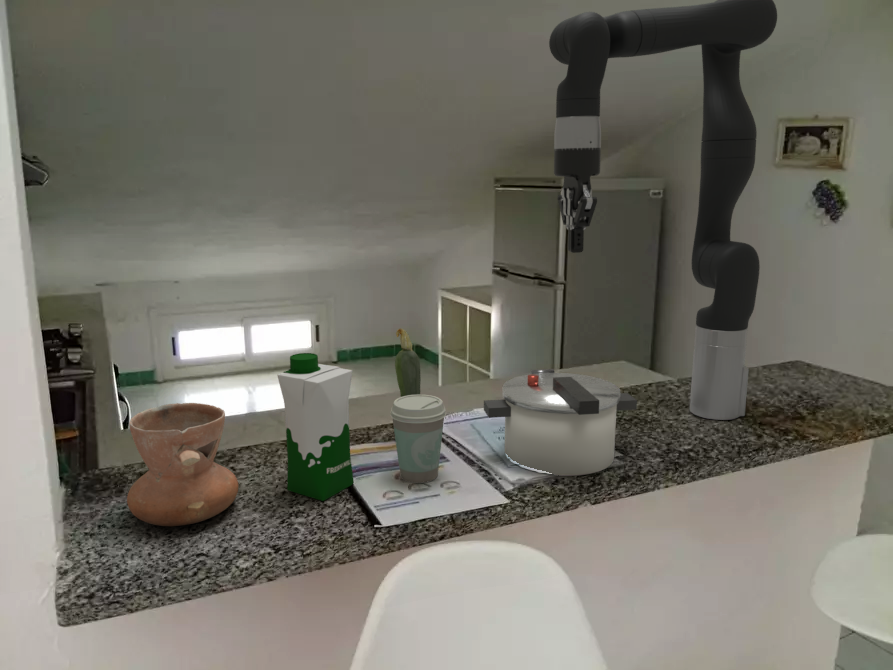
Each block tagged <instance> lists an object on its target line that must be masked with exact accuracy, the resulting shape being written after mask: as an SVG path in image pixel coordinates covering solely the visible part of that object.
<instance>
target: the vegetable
mask: <svg viewBox="0 0 893 670" xmlns="http://www.w3.org/2000/svg"><path fill="white" fill-rule="evenodd" d="M395 335H396V338H398V337H399V340H400V341H399V343H400V346H401V350H400V351H398V353H397V354H396V356H395V358H394V359H395V360H394V369H395V375H396V380H397V384H398V388H399V394H400V397H403V396H407V395H421V363H420V357H419V356H418V354H417V353H416V352H415V350H414V349H413V343H412V340H411V338H410V336H409V333H407V330H405V329H404V328H398V329H397V330H396V332H395Z"/></svg>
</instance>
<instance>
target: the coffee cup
mask: <svg viewBox="0 0 893 670" xmlns="http://www.w3.org/2000/svg"><path fill="white" fill-rule="evenodd" d="M389 415H390V417H391V419H392V425H393V431H394V433H393V434H394V440H395V445H396V447H395V448H396V455H397V460H398V467H399V475H400V478H401V479H402V480H403V481H405V482H408V483H413V484H415V483H416V484H421V483H422V484H424V483H428V482H432V481H434V480H435V479H437V478H438V476H439V466H440V458H441V448H442V440H443V439H442V437H443V429H444V421H445V417H446V416H447V411H446V407H445V405H444V401H443V400H442V399H441V398H440V397H438V396H435V395H430V394H420V395H407V396H403V397H401V396H400V397H398V398H396V399H395V400H394V401H393V404H392V406H391V408H390V413H389Z"/></svg>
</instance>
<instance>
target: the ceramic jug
mask: <svg viewBox="0 0 893 670" xmlns="http://www.w3.org/2000/svg"><path fill="white" fill-rule="evenodd" d="M225 420H226V412H225V410H224V409H222V408H221V407H217V406H214V405H210V404H207V403H206V404H205V403H201V402H200V403H199V402H182V403H178V402H176V403H169V404H163V405H159V406H155V407H150V408H146V409H145V410H143V411H142V410H141V411H139V412H138V413H136V414H135V415H133V417H131V418H130V419H129V423H128V424H129V425H128V426H129V429H130V433H131V438H132V439H133V442H134V445H135V447H136V449H137V451H138V453H139V455H140V458H141V459H142V460H143V462H144V464H145V465H146V467H147V468H148V471H146V472H145V473H144V474H143V475H141V476H140V477H139V478H138V479H137V480H135V481H134V483H133V484H132V486H131V487H130V488H129V490H128V493H127V498H126V503H127V504H126V505H127V506H128V509H129V511H130V513H132V515H133V516H134V517H135V518H137V519H138V520H140V521H142V522H145V523H146V524H149V525H154V526H159V527H179V526H180V527H181V526H187V525H192V524H193V525H194V524H197V523H200V522H204V521H206V520H208V519H211V518H213V517H215V516H217V515H219V514H221V513H222V512H224V511H225V510H226V509H227V508H229V507H230V506H231V505H232V504H233V503H234V501H235V500H236V498H237V495H238V492H239V480H238V478H237V476H236V475H235V473H233V472H232V471H231V470H230V469H228V468H227V467H225V466H222V465H220V464H218V463H216V462H215V461H214V460H215V457H216V456H217V455H216V454H217V452H218V449H219V446H220V442H221V438H222V436H223V433H224V428H225Z"/></svg>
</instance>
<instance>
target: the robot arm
mask: <svg viewBox="0 0 893 670" xmlns="http://www.w3.org/2000/svg"><path fill="white" fill-rule="evenodd" d="M777 22H778V9H777V7H776V4H775V1H774V0H715V1H713V2H706V3H701V4H694V5H683V6H671V7H656V8H644V9H633V10H626V11H625V10H624V11H620V12H616V13H614V14H611V15H607V16H602V15H601V14H600V13H598V12H595V11H584V12H582V13H578V14H577V15H575V16H572V17H569V18H567V19H566V18H565V20H562V21H560V22H559V23H558V24H557V25H556V26H555V27H554V28H553V30H552V32H551V34H550V36H549V42H548V44H549V51H550V53H551V55H552V56H553V58H554V59H555V60H557V61H558V62H559V63H561V64H564V65H567V71H566V76H565V78H564V79H563V80H561V82H560V83H559V84H558V85H557V88H556V96H555V97H556V103H555V105H556V107H555V109H556V110H555V126H554V135H553V136H554V139H553V142H554V143H553V145H554V146H553V153H554V154H553V175H554V176H555V177H563V184H562V188H561V194H558V195H557V201H558V202H557V203H558V207H559V211H560V215H561V219H562V224H563V225H564V226H565V228H566V230H567V231H568V232H567V233H568V234H567V239H568V240H567V250H568V252H570V253H572V254H573V253H574V254H576V253H578V254H579V253H583V251H584V237H585V236H584V234H585V232H584V230H586V228H589V227H590V225H591V223H592V219H593V216H594V213H595V210H596V207H597V203H598V198H597V196H593V195H592V194H593V189H592V183H591V177H592V176H593V177H596V176H599V175H600V173H601V155H602V154H601V152H602V150H601V148H602V147H601V146H602V129H601V128H602V127H601V117H600V115H601V88H602V84H603V81H604V77H605V74H606V71H607V69H606V68H607V63H608V62H609V61H608V60H609V59H616V58H617V59H619V58H632V57H633V58H634V57H640V56H641V57H642V56H643V57H644V56H649V55H655V54H661V53H665V52H666V53H667V52H671V51H675V50H681V49H684V48H685V49H686V48H689V47H694V46H695V47H696V46H701V58H702V59H701V60H702V74H703V75H702V76H703V78H702V80H703V81H702V83H703V97H702V101H703V102H702V129H701V131H702V132H701V133H702V134H701V143H700V144H701V145H700V176H699V177H700V181H699V193H698V194H699V197H698V208H697V209H698V210H697V219H696V227H695V233H694V239H693V240H694V241H693V245H692V252H691V271H692V275H693V277H694V279H695V281H696V282H697V283H698V284H699V285H700V286H703V287H706V288H710V289H712V290H713V289H714V295H713V299H712V303H711V304H710V305H709V306H705V307H702V308H700V309H699V310H698V311H697V312H696V317H695V319H696V320H695V331H694V346H693V356H692V357H693V359H692V372H691V373H692V374H691V385H690V387H691V388H690V398H689V412H690V413H692V414H693V415H695V416H697V417H700V418H704V419H708V420H709V419H710V420H717V421H718V420H719V421H720V420H721V421H722V420H723V421H728V420H735V419H737V418H739V417H745V415H746V404H747V396H748V395H747V394H748V393H747V392H748V385H749V384H748V382H749V369H750V368H749V367H747V366H746V365H745V363H746V354H747V353H746V351H747V339H748V331H749V330H748V329H749V321H750V319H751V317H752V315H753V312H754V310H755V304H756V298H757V291H758V286H759V279H760V278H759V277H760V268H761V266H760V258H759V255H758V252H757V250H756V248H754V247H753V246H752V245H750V244H748V243H745V242H741V241H735V240H734V241H732V240H731V228H732V217H733V213H734V209H735V207H736V205H737V202H738V201H739V198H740V197H741V195H742V193H743V191H744V189H745V188H746V186H747V184H748V182H749V180H750V178H751V177H752V174H753V171H754V168H755V163H756V153H757V134H758V133H757V131H758V130H757V125H756V121H755V118H754V116H753V113H752V111H751V109H750V106H749V104H748V102H747V100H746V99H747V98H746V97H745V95H744V93H743V90H742V85H741V79H740V62H741V53H742V51H744V50H750V49H753V48H755V47H757V46H760V45H762V44H763V43H764V42H766V41H767V40H768V39H769V38H770V37H771V36H772V34H773V33H774V31H775V29H776V26H777Z"/></svg>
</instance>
